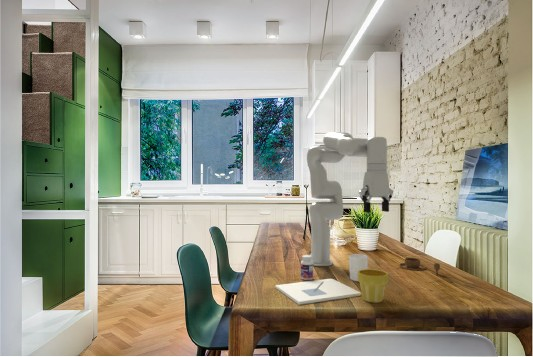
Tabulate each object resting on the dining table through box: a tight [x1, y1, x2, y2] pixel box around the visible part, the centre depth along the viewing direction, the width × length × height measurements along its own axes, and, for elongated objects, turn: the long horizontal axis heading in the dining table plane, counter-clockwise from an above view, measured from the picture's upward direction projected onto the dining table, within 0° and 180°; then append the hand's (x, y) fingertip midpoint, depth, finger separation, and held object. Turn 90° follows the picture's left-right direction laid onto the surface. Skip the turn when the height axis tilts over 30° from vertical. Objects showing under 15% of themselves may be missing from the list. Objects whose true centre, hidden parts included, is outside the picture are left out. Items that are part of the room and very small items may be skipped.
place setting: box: [395, 257, 441, 276], centre depth 168 cm, size 18×20×6 cm
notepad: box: [274, 278, 362, 306], centre depth 135 cm, size 20×26×1 cm
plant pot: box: [357, 268, 389, 303], centre depth 126 cm, size 10×10×10 cm
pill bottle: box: [300, 254, 314, 281], centre depth 152 cm, size 5×5×10 cm
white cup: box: [348, 253, 369, 282], centre depth 152 cm, size 8×8×10 cm
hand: (376, 211), depth 139 cm, fingers open, 9 cm apart
